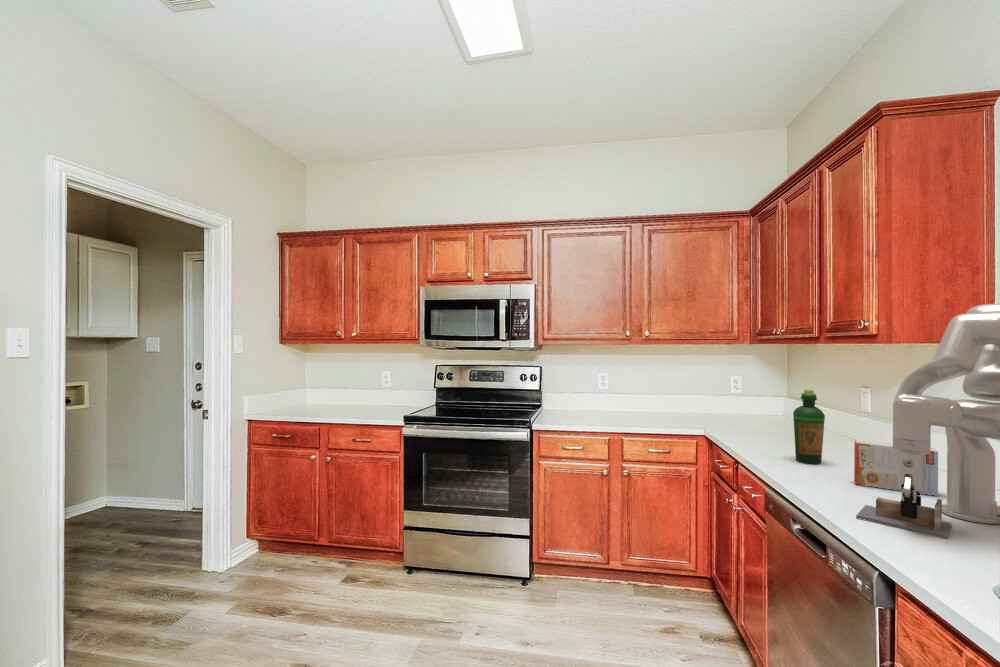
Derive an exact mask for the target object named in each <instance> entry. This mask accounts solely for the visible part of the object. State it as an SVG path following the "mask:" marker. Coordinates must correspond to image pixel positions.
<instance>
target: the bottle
mask: <svg viewBox="0 0 1000 667" xmlns="http://www.w3.org/2000/svg"><path fill="white" fill-rule="evenodd" d="M814 391H815V390H813V389H804V390H803V392H802V393H801V397H800V400H802V405H800V406H798V407H796V408H795V409H794V410H793V415H792V416H793V430H794V431H793V432H794V433H793V434H794V449H795V450H794V451H795V452H794V453H795V460H796V461H797V462H799V463H803V464H806V465H807V464H809V465H818V464H821V463H822V458H823V445H824V444H823V443H824V431H825V430H824V429H825V420H826V418H825V417H826V416H825V414H824V412H823V411H822V409H820V408H819V407H817V406H816V401H817V400H818V398H817V394H816V393H814Z"/></svg>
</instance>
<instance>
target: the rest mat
mask: <svg viewBox="0 0 1000 667" xmlns="http://www.w3.org/2000/svg"><path fill="white" fill-rule="evenodd" d="M855 517H856V519H857V518H861V519H860V520H862V519H865V520H864V521H866V520H869V521H868V522H870V521H873V522H872V523H875V522H876V523H875V524H879V523H880V525H884V526H889V527H892V526H893V528H897V529H903V530H906V531H911V532H915V533H919V534H924V535H929V536H933V537H937V538H941V539H946V540H948V537H949V536H950V535H949V534H950V531H951V528H952V522H949V521H943V520H942V524H941V527H940V529H939V531H935V530H934V527H930V526H925V525H921V524H916V523H912V522H907V521H902V520H898V519H893V518H889V517H884V516H879V515H876V506H873V505H872V506H871V505H867V504H865V505H864V506H863V507H862V508H861V509H860V511H859V512H858V513H857V514H856V515H855Z"/></svg>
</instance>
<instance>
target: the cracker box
mask: <svg viewBox="0 0 1000 667" xmlns="http://www.w3.org/2000/svg"><path fill="white" fill-rule="evenodd" d="M853 452H854V454H853V455H854V462H853V463H854V466H853V467H854V469H853V470H854V471H853V472H854V474H853V479H854V480H853V481H854V484H855V485H856V484H861V485H860V486H863V485H866V486H865V487H870V486H872V487H871V488H876V487H878V489H883V488H886V489H885V490H890V489H894V490H893V491H897V490H900V491H899V492H902V490H901V489H900V488H899V485H898V451H896V450H894V449H893V443H885V442H875V441H869V440H868V441H866V440H857V439H856V440H854V450H853ZM926 477H927V487H926V489H925V491H924V492H923V493H920V495H925V494H927V496H931V495H934V496H933V497H938V496H939V452H938V451H937V449H936V448H931V447H930V454H926Z"/></svg>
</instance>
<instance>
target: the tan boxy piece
mask: <svg viewBox="0 0 1000 667" xmlns="http://www.w3.org/2000/svg"><path fill="white" fill-rule="evenodd" d="M942 504H943V499H941V498H937V500H936V503H935V504H934V507H928V506H925V505H924V506H923V505H921V506H919V505H917V519H912V518H908V517H903V516H901V501H899V500H893V499H887V498H883V497H877V498H876V499H875V507H876V515H879V516H884V517H889V518H893V519H898V520H902V521H907V522H912V523H916V524H921V525H925V526H930V527H934V530H935V531H939V529H940V527H941V524H942V521H943V512H942Z"/></svg>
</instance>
